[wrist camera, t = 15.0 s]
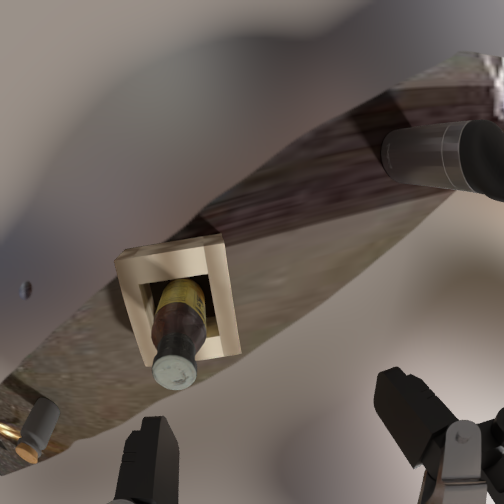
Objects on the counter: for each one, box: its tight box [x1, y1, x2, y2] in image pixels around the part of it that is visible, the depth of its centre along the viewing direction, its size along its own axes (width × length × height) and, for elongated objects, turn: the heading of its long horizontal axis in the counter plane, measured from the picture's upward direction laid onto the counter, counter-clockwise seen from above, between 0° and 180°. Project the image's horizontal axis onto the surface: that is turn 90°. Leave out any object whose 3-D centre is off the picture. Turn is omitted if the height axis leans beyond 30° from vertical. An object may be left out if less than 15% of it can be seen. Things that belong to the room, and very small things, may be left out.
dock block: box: [114, 234, 241, 367], centre depth 40 cm, size 14×16×6 cm
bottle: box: [16, 398, 60, 464], centre depth 37 cm, size 6×6×15 cm
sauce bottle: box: [151, 277, 207, 390], centre depth 33 cm, size 7×6×20 cm
